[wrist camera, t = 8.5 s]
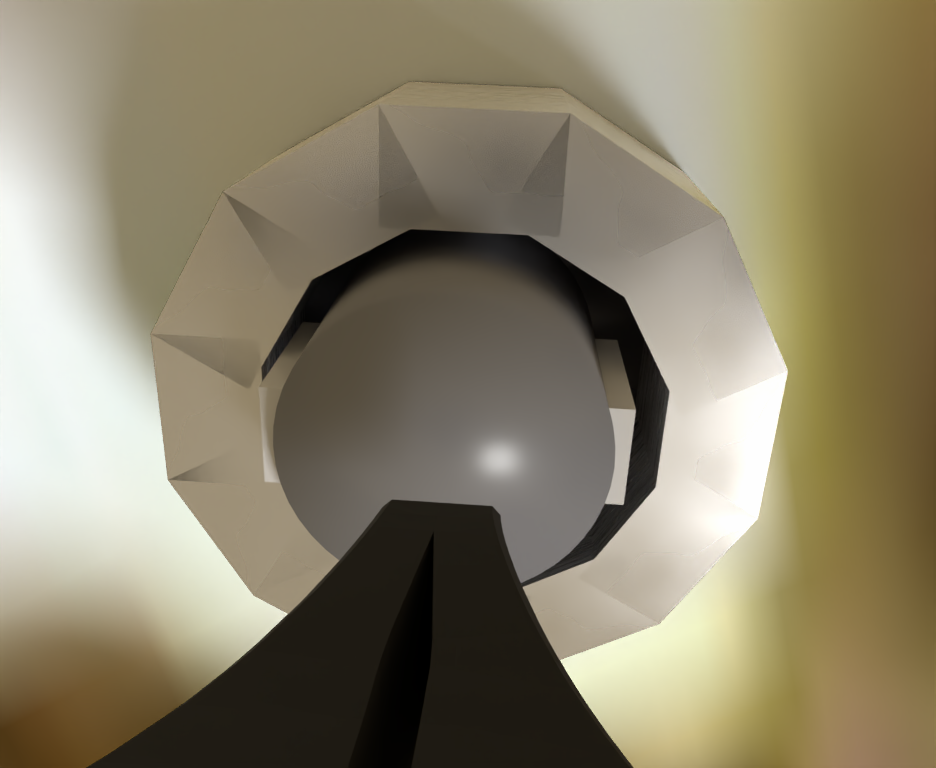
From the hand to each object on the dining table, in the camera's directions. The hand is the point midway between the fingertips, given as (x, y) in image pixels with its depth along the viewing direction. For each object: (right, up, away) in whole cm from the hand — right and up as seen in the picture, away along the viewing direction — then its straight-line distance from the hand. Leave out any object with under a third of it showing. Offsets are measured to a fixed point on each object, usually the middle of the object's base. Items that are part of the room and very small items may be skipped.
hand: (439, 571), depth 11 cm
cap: (0, +3, +6) cm, 7 cm away
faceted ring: (+1, +3, +7) cm, 7 cm away
